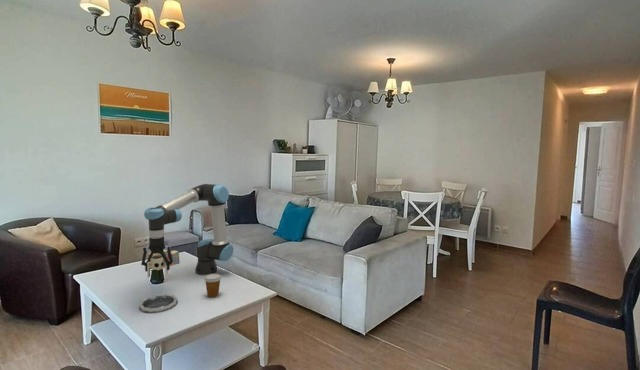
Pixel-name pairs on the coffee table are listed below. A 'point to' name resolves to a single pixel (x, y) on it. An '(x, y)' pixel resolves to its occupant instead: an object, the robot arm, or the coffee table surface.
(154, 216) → the robot arm
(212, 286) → the disposable coffee cup
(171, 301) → the silver metal tray
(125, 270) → the coffee table surface
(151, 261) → the character mug
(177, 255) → the stack of blocks
